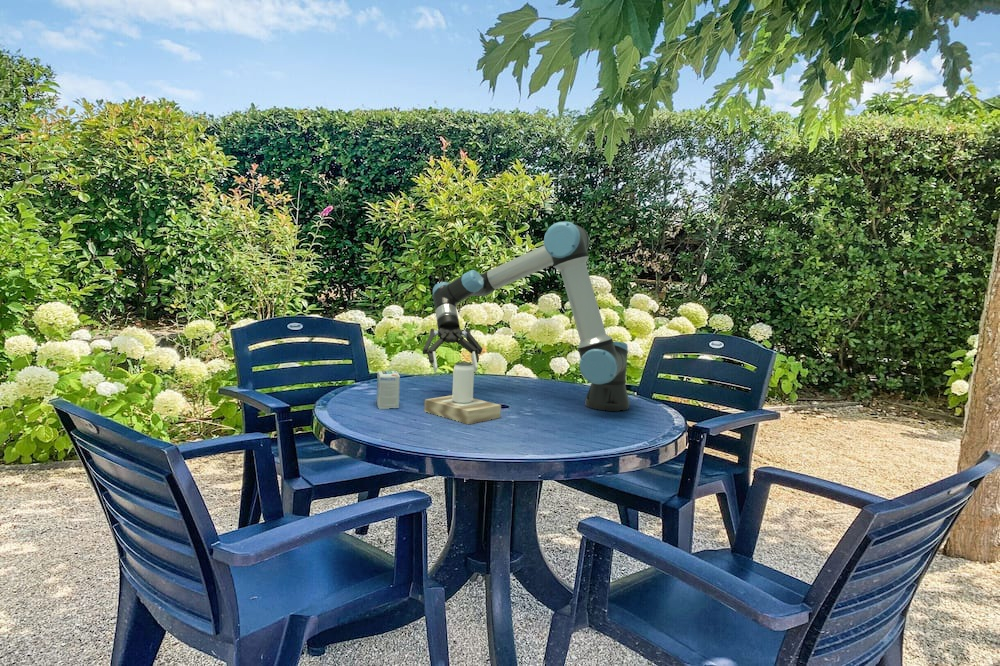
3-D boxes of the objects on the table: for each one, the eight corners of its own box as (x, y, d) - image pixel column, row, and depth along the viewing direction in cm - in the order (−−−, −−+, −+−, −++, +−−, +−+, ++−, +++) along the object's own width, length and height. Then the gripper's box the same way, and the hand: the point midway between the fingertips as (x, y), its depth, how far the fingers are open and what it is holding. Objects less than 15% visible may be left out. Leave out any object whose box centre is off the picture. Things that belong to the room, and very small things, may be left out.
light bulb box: (376, 402, 204) (376, 370, 203) (396, 402, 205) (397, 370, 204) (378, 409, 193) (379, 376, 192) (399, 409, 195) (400, 376, 194)
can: (450, 399, 193) (451, 362, 192) (470, 399, 195) (471, 362, 193) (454, 403, 187) (455, 365, 185) (474, 403, 188) (476, 365, 187)
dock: (500, 417, 189) (501, 404, 189) (468, 424, 179) (468, 410, 179) (456, 406, 203) (456, 393, 202) (424, 412, 192) (424, 398, 192)
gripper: (479, 327, 218) (489, 375, 206) (410, 326, 211) (416, 376, 198) (484, 313, 213) (495, 362, 200) (413, 312, 205) (420, 363, 193)
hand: (456, 369), depth 199 cm, fingers open, 13 cm apart
